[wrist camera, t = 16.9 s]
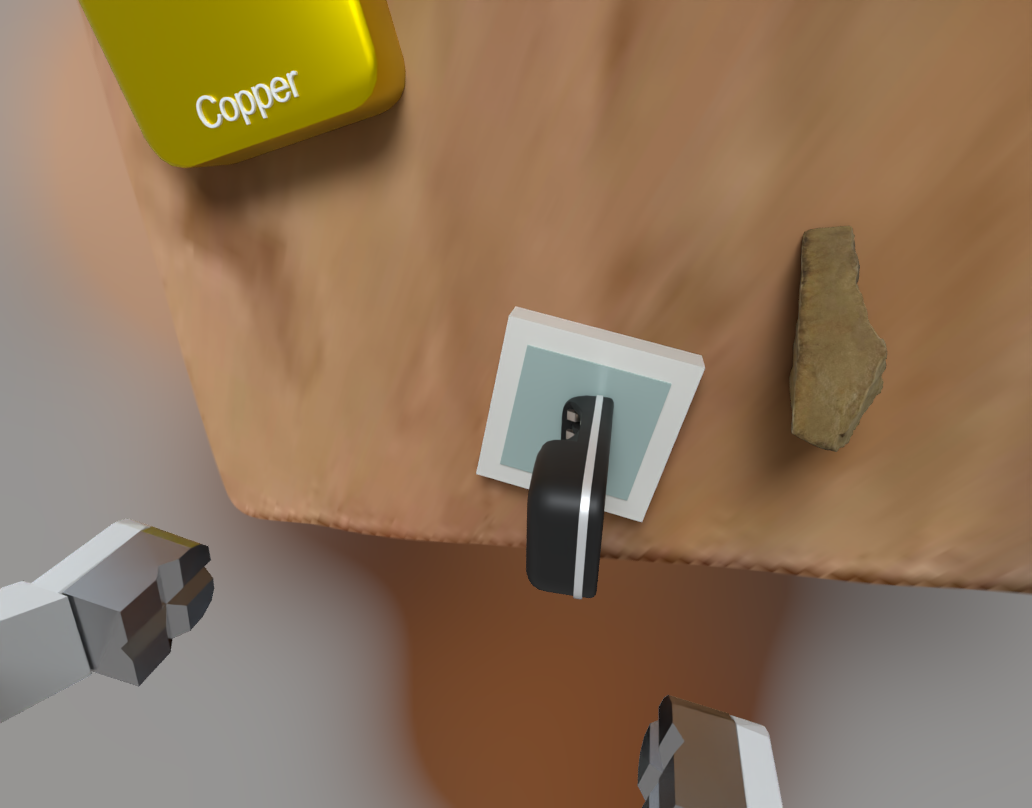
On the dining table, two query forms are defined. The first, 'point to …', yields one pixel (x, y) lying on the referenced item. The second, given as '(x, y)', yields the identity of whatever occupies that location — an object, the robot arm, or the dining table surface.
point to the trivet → (588, 371)
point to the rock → (832, 343)
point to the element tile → (247, 71)
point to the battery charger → (570, 500)
